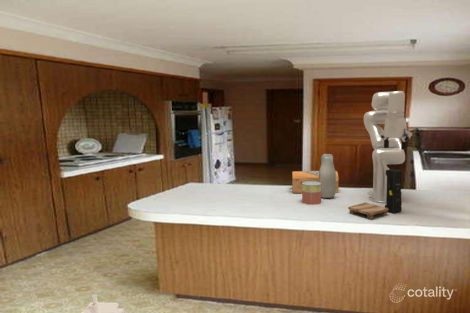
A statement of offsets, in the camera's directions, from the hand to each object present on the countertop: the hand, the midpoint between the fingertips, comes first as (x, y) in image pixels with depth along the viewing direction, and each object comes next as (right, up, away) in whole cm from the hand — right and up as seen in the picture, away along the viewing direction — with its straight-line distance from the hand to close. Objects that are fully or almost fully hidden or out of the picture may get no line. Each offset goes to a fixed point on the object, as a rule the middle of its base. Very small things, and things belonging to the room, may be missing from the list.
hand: (394, 148), depth 173 cm
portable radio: (+1, -34, +5) cm, 34 cm away
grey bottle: (-25, -30, +36) cm, 53 cm away
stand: (-13, -35, +2) cm, 37 cm away
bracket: (-153, -111, -8) cm, 189 cm away
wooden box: (-29, -28, +55) cm, 68 cm away
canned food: (-37, -32, +27) cm, 56 cm away
